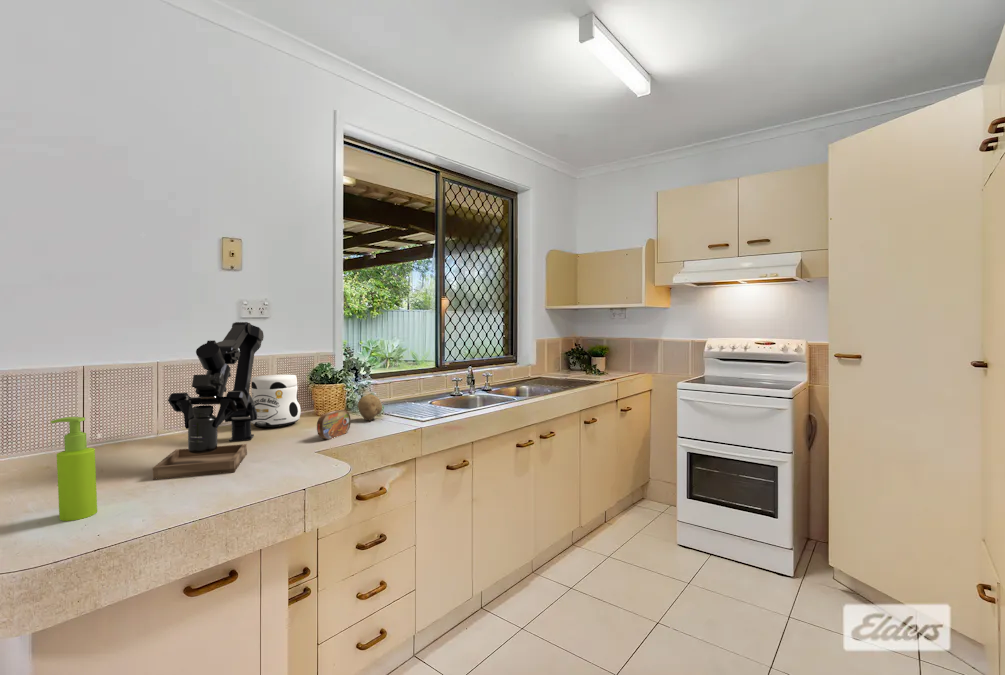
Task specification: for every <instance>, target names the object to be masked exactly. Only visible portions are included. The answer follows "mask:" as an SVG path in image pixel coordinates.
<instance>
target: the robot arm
mask: <svg viewBox="0 0 1005 675" xmlns="http://www.w3.org/2000/svg"><path fill="white" fill-rule="evenodd" d="M264 337H265V336H264V330H262V329H261V328H260V327H259V326H256V325H254V324H251V323H250V322H248V321H235V322H233V323H232V324H231V328H230V329H229V331H228V333H227V334H226V335H225V337H223V339H222V340H221V341H218V342H216V340H207V341H206V342H205V343H203V344H201V345H200V346H199V347H198V348H196V350H195V353H196V356H197V358H198V360H199V362H200V364H201V366H202V368H203V369H204V370H205V371H206V373H205V374H194V375H193V378H192V384H191V387H192V388H193V389H195V391H194V392H195V394H196V395H198V396H190V395H189V393H188V392H173V393H172V392H171V393H170V395H169V396H168V399H167V401H168V404H170V407H171V408H172V409H173V410H174V411H175V412H177V413H182V414H183V419H184V427H185V429H187V430H188V421H189V419H190V418H191V417H193V414H192V412H193V407H194V405H196V406H198V405H211V406H214V405H219V409H218V412H217V415H216V420H215V424H214V426H215V428H217V429H218V427H219V426H220V425H221V424H222V423H223V422H224V423H230V422H231V425H230V426H231V437H230V438H229V439H228V441H229V442H240V441H241V442H242V441H251V440H252V439H253V438H254V436H255V434H253V433H252V423H251V421H253V420H257V410H256V408H255V406H254V403H253V399H252V394H250V389H251V383H252V374H253V368H254V366H253V364H254V360H255V354H256V352H257V351H258V350H259V349H260V348H261V346H262V341H264V339H265V338H264ZM236 363H237V366H236V372H235V378H234V383H233V389H232V390H229V391H228V392H227V390H228V389H227V384H228V379H229V378H231V377H232V375H231V367H230V365H235V364H236ZM225 392H226V395H225V396H224V393H225Z"/></svg>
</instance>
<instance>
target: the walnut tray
mask: <svg viewBox="0 0 1005 675" xmlns="http://www.w3.org/2000/svg"><path fill="white" fill-rule="evenodd" d="M247 446H248V444H247V443H243V444H229V445H217V449H216V450H215V451H212V452H208V453H201V454H194V453H190V452H189V451H188V448H178V449H174V450H173V451H172V452H171V453H170V454H168V455H166V457H164V458H163V459H162V460H160V461H159V462H158V463H157V464H155V465H154V466H152V479H153V481H154V480H164V479H176V478H186V477H197V476H198V477H200V476H209V475H220V474H231V473H235V472H236V471H237V470H238V468H239V466H240V465H241V464H242V462H243V460H244V459H245V458H246V457H247V455H248V447H247ZM240 463H241V464H240Z"/></svg>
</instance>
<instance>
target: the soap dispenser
mask: <svg viewBox="0 0 1005 675" xmlns="http://www.w3.org/2000/svg"><path fill="white" fill-rule="evenodd" d="M84 421H86V417H85V416H84V417H83V416H82V417H80V416H66V417H61V418H57V419H53V420H50V421H49V422H50V423H51V424H54V423H55V424H56V423H64V422H65V423H69V427H68V428H69V432H68V433H67V434H65V435H64V436H63V439H64V440H63V441H64V442H63V443H64V450H63V451H60V452H57V454H56V470H57V471H56V472H57V490H58V491H57V492H58V493H57V494H58V513H59V514H58V518H59V520H60V521H63V522H71V521H78V520H82V519H86V518H89V517H91V516H94V515H95V514H97V513H98V497H97V495H98V493H97V477H96V476H97V471H96V449H95V448H94V447H88V446H87V443H88V442H87V433H86V432H83V431H82V430H81V422H84Z"/></svg>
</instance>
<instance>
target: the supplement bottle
mask: <svg viewBox="0 0 1005 675" xmlns="http://www.w3.org/2000/svg"><path fill="white" fill-rule="evenodd" d="M192 408H193V412H192V414H193V417H191V418H190V419H189V421H188V429H187V449H188V451H189V452H190V453H194V454H201V453H208V452H212V451H215V450H216V449H217V446H218V427H217V428H215V426H214V424H215V420H216V417H217V415H216V416H215V415H214V414H213V413H214V405H203V404H200V405H196V406H192Z"/></svg>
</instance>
